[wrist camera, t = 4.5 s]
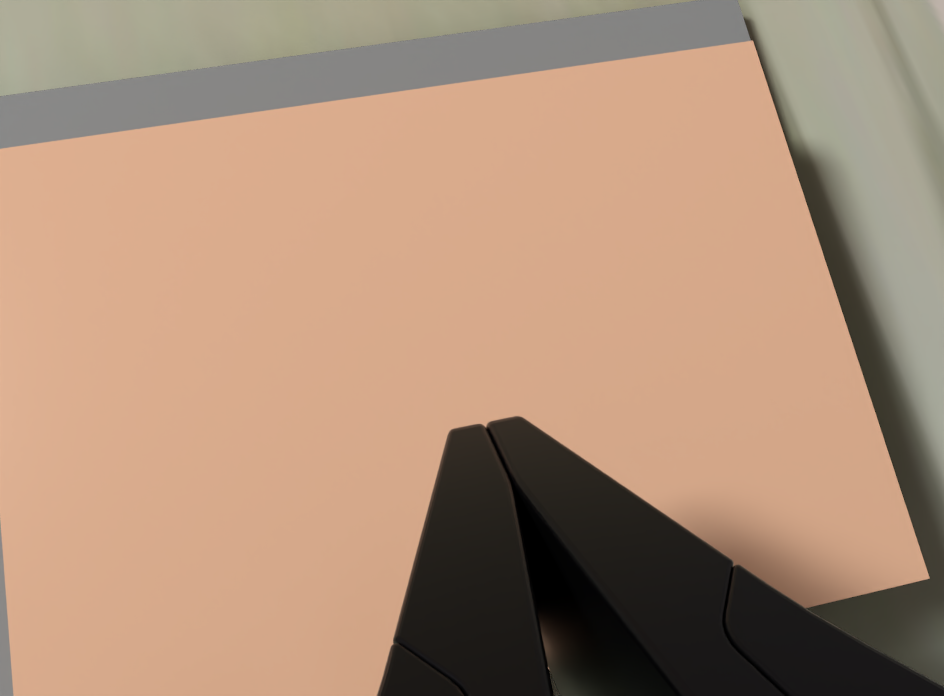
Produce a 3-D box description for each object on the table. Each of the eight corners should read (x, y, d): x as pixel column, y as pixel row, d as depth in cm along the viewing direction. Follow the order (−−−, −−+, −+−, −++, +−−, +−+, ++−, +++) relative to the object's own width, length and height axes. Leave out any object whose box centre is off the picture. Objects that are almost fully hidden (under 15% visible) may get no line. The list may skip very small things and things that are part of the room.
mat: (897, 521, 16) (909, 521, 16) (-57, 741, 14) (-70, 746, 14) (729, 6, 19) (735, -5, 19) (-92, 120, 17) (-104, 110, 16)
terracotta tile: (930, 578, 13) (753, 40, 15) (21, 796, 11) (-27, 152, 14) (848, 575, 16) (706, 110, 18) (88, 754, 14) (37, 213, 16)
